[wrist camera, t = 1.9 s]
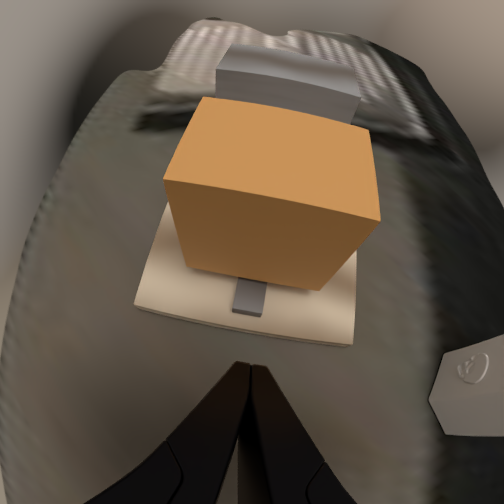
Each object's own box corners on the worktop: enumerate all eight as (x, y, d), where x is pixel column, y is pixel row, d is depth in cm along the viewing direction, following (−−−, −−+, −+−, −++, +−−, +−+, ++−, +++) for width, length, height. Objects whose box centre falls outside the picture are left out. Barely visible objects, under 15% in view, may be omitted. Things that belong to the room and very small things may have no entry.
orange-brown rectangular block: (318, 291, 19) (380, 221, 11) (186, 266, 19) (163, 178, 11) (323, 217, 22) (368, 130, 14) (207, 195, 22) (203, 96, 14)
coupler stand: (346, 346, 21) (415, 318, 12) (138, 308, 20) (88, 258, 12) (345, 133, 31) (371, 71, 23) (212, 107, 31) (213, 40, 23)
